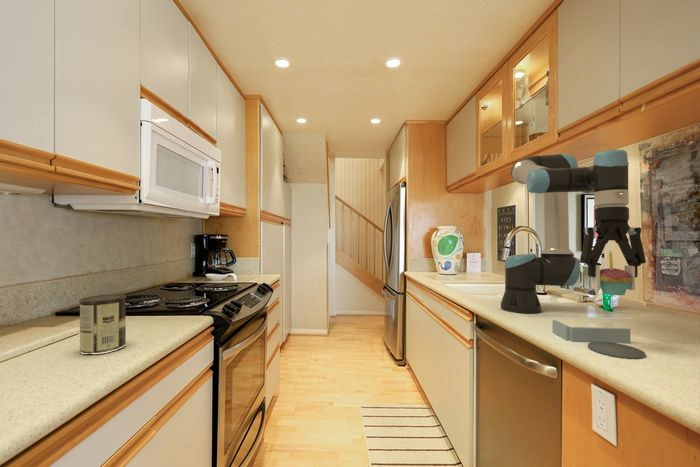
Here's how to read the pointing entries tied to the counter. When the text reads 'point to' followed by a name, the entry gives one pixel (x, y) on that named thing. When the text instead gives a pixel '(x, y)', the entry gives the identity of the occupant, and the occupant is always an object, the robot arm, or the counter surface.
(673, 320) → the counter surface
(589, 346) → the pad
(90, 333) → the coffee can
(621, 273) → the cupcake
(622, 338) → the pen walls
